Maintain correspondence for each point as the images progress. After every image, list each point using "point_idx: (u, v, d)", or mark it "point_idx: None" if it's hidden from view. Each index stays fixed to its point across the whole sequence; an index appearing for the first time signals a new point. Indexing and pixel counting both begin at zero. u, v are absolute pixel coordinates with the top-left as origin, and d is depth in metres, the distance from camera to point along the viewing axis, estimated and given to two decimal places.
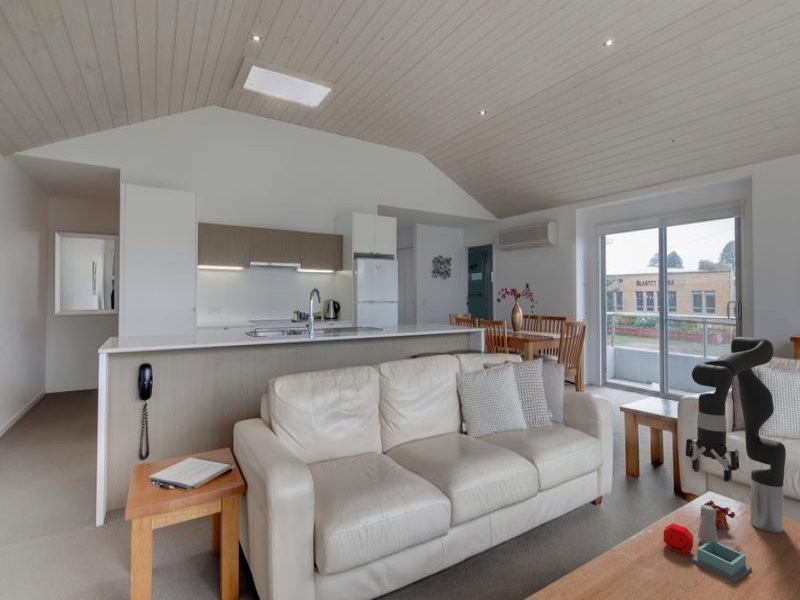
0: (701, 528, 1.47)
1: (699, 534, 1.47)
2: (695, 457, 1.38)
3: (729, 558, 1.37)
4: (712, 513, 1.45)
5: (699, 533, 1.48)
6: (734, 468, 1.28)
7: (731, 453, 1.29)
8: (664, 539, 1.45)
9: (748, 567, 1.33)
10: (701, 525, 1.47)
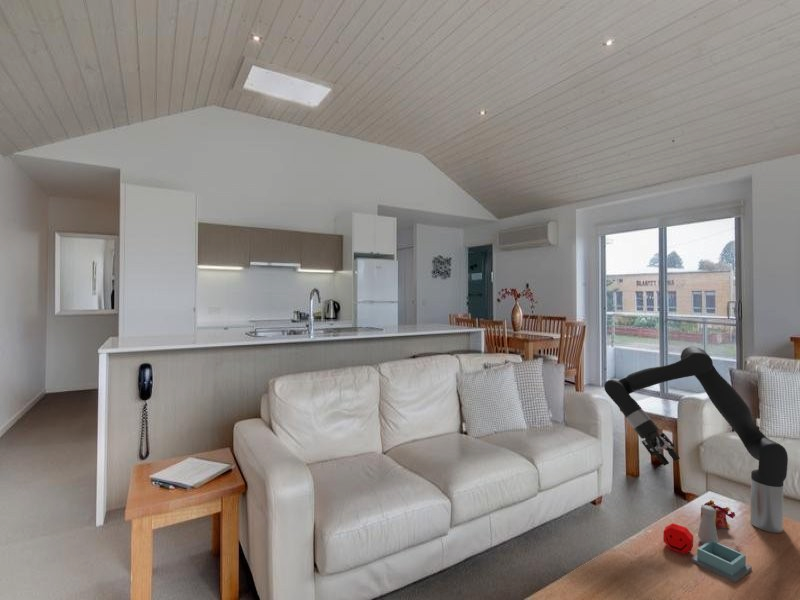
0: (701, 528, 1.47)
1: (699, 534, 1.47)
2: None
3: (729, 558, 1.37)
4: (712, 513, 1.45)
5: (699, 533, 1.48)
6: None
7: None
8: (664, 539, 1.44)
9: (748, 567, 1.33)
10: (701, 525, 1.47)
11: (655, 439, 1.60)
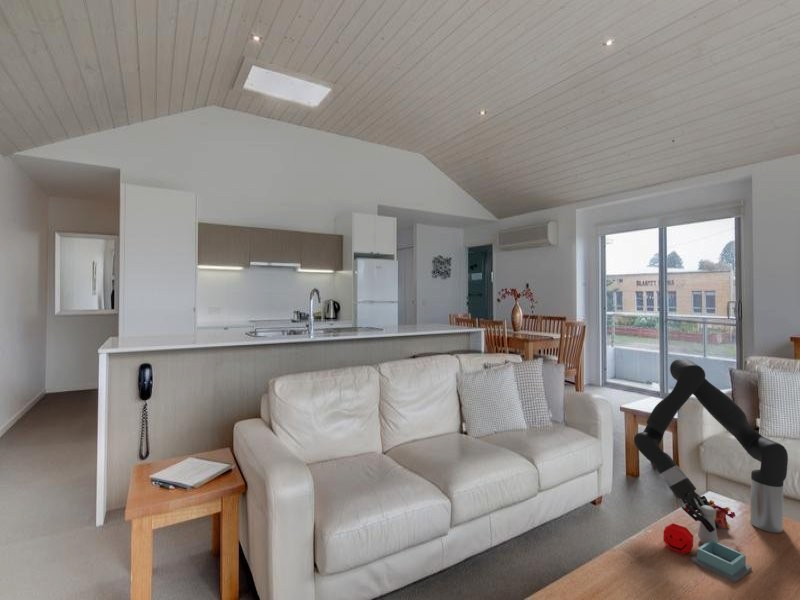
0: (701, 528, 1.47)
1: (699, 534, 1.47)
2: None
3: (729, 558, 1.37)
4: (712, 513, 1.45)
5: (699, 533, 1.48)
6: None
7: None
8: (664, 539, 1.45)
9: (748, 567, 1.33)
10: (701, 525, 1.47)
11: (693, 501, 1.49)
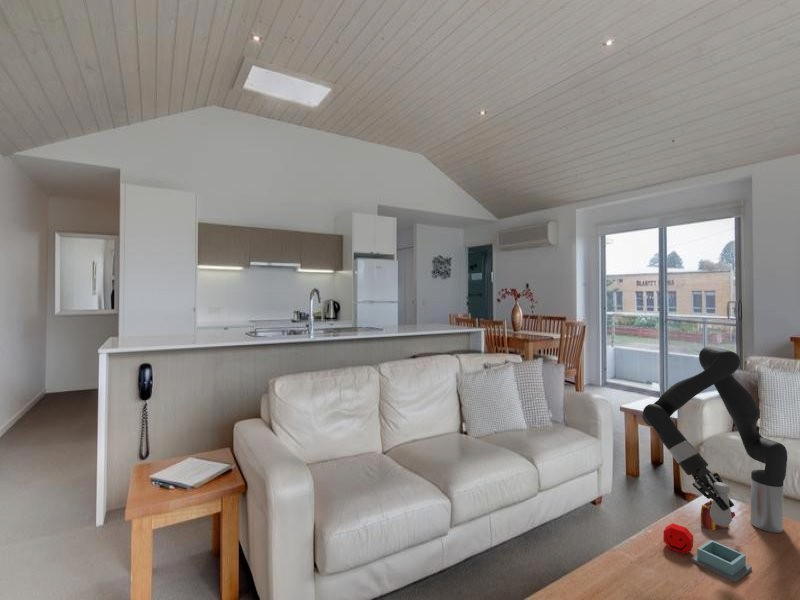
0: (714, 507, 1.35)
1: (711, 513, 1.35)
2: None
3: (729, 558, 1.37)
4: (726, 490, 1.33)
5: (711, 512, 1.36)
6: None
7: None
8: (664, 539, 1.45)
9: (748, 567, 1.33)
10: (714, 503, 1.35)
11: (705, 478, 1.37)
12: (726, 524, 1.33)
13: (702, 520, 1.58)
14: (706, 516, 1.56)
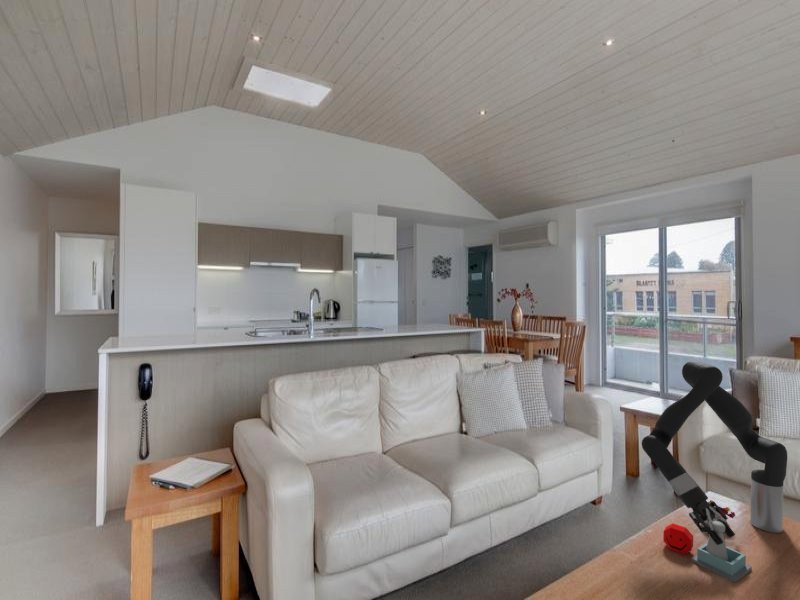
0: (709, 545, 1.35)
1: None
2: None
3: (729, 558, 1.37)
4: (721, 529, 1.33)
5: (707, 551, 1.36)
6: None
7: None
8: (664, 539, 1.44)
9: (748, 567, 1.33)
10: (709, 542, 1.36)
11: (704, 511, 1.37)
12: None
13: None
14: None
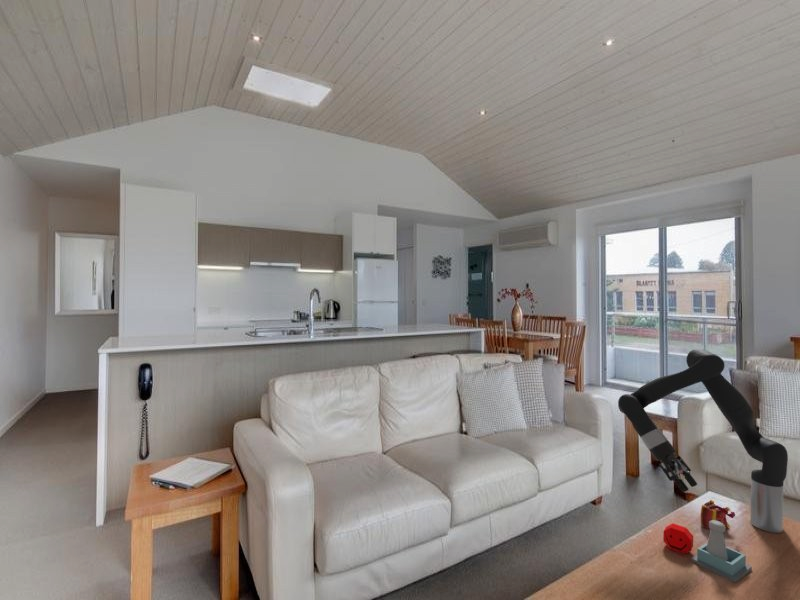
0: (709, 545, 1.35)
1: None
2: None
3: (729, 558, 1.37)
4: (721, 529, 1.33)
5: (707, 551, 1.36)
6: (669, 479, 1.44)
7: None
8: (664, 539, 1.45)
9: (748, 567, 1.33)
10: (709, 542, 1.36)
11: (673, 462, 1.47)
12: None
13: (702, 520, 1.58)
14: (706, 516, 1.56)
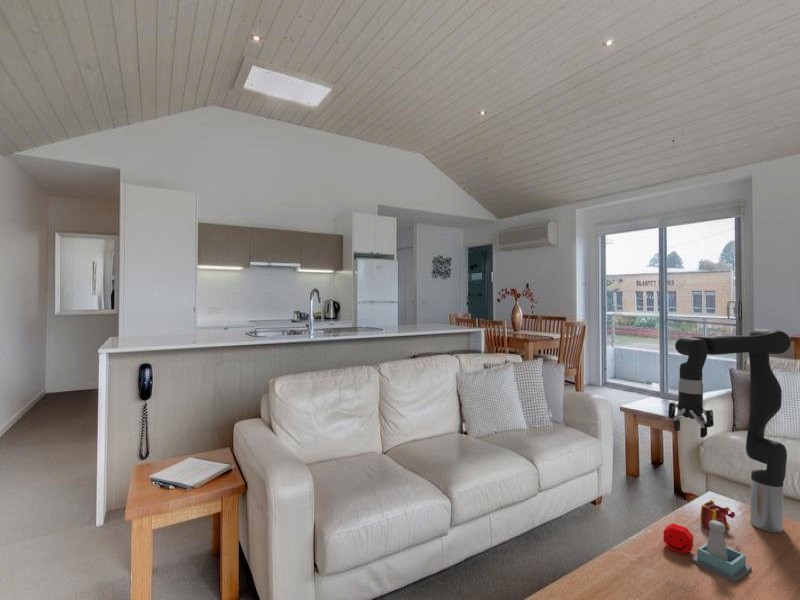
0: (709, 545, 1.35)
1: None
2: (676, 418, 1.58)
3: (729, 558, 1.37)
4: (721, 529, 1.33)
5: (707, 551, 1.36)
6: (709, 425, 1.49)
7: (706, 412, 1.50)
8: (664, 539, 1.44)
9: (748, 567, 1.33)
10: (709, 542, 1.36)
11: None
12: None
13: (702, 520, 1.58)
14: (706, 516, 1.56)
